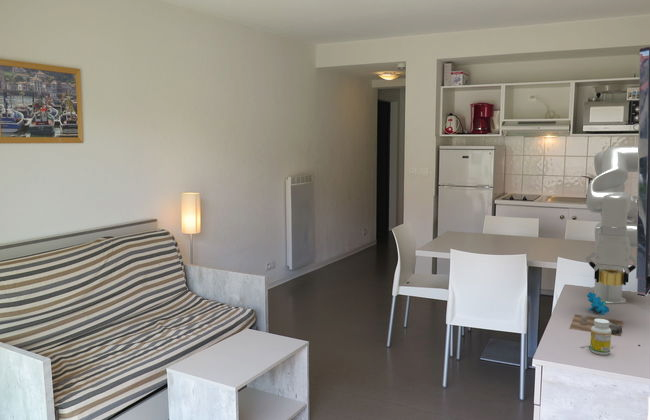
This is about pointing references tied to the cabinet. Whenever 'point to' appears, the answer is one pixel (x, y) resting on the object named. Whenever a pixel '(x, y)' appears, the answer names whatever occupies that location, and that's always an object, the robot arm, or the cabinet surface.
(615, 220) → the robot arm
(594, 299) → the gear
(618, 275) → the brass gear
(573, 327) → the gear board
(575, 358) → the cabinet surface
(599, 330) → the supplement bottle
